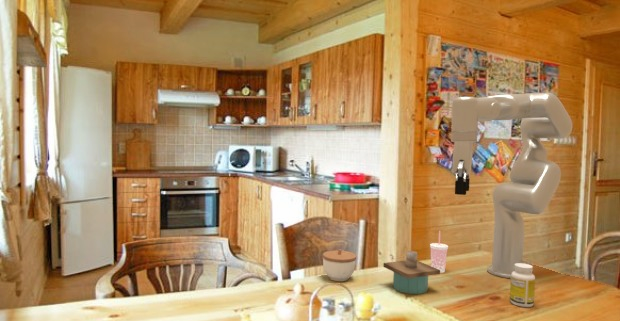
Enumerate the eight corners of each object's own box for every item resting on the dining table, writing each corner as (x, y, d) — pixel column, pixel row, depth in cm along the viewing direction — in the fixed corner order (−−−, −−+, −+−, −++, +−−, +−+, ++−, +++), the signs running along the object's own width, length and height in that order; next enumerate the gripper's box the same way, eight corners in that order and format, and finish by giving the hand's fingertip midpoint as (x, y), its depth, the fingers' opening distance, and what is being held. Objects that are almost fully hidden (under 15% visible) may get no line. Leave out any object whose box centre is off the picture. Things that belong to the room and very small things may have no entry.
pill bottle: (528, 300, 129) (530, 262, 129) (537, 308, 123) (539, 269, 122) (506, 298, 130) (508, 261, 129) (514, 306, 124) (516, 267, 123)
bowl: (412, 281, 143) (413, 264, 143) (433, 291, 134) (434, 273, 134) (386, 284, 139) (387, 267, 138) (407, 295, 130) (408, 277, 130)
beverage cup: (449, 273, 152) (451, 233, 152) (430, 272, 153) (432, 232, 152) (444, 268, 158) (446, 229, 158) (427, 267, 159) (429, 228, 158)
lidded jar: (331, 271, 151) (332, 243, 151) (360, 277, 146) (361, 248, 145) (316, 279, 142) (317, 250, 141) (346, 286, 136) (347, 256, 136)
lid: (414, 263, 144) (414, 246, 144) (439, 274, 133) (440, 255, 133) (383, 266, 139) (384, 249, 139) (407, 278, 128) (408, 259, 128)
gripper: (454, 136, 147) (453, 188, 148) (447, 137, 131) (445, 195, 132) (479, 137, 143) (477, 190, 145) (474, 138, 128) (472, 197, 129)
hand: (462, 192), depth 138 cm, fingers open, 9 cm apart
